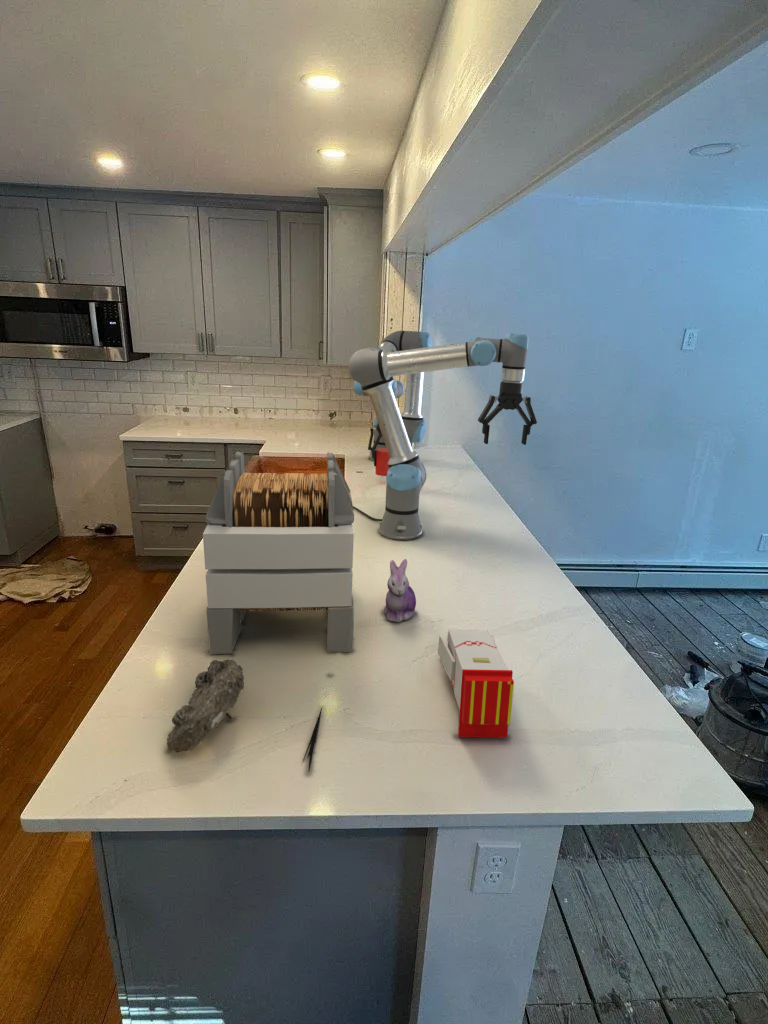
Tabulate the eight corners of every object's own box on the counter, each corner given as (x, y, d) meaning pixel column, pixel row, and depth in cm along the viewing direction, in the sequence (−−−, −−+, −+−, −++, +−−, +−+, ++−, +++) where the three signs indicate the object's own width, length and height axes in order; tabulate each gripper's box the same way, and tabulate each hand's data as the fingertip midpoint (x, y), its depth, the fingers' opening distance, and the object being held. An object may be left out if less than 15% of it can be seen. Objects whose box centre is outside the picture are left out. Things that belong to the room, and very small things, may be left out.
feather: (331, 679, 122) (336, 673, 122) (307, 777, 96) (313, 769, 95) (324, 675, 122) (329, 669, 121) (298, 772, 95) (304, 764, 95)
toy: (488, 613, 130) (523, 677, 101) (484, 667, 133) (517, 744, 104) (435, 612, 130) (455, 676, 101) (432, 666, 133) (451, 743, 103)
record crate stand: (229, 585, 158) (221, 442, 144) (346, 584, 161) (350, 444, 148) (206, 656, 126) (193, 481, 112) (353, 652, 130) (358, 483, 116)
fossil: (192, 660, 117) (244, 628, 112) (224, 691, 120) (276, 661, 115) (142, 746, 98) (202, 712, 93) (182, 779, 101) (242, 748, 96)
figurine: (392, 627, 141) (395, 572, 136) (374, 608, 149) (376, 556, 144) (425, 619, 145) (429, 566, 140) (405, 601, 154) (408, 550, 149)
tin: (372, 472, 257) (373, 448, 254) (388, 470, 260) (389, 447, 256) (379, 476, 251) (380, 452, 247) (394, 475, 254) (396, 451, 250)
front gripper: (543, 381, 195) (535, 441, 202) (472, 379, 192) (467, 440, 199) (551, 384, 188) (543, 446, 195) (478, 381, 185) (472, 445, 192)
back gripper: (362, 415, 243) (360, 467, 251) (410, 417, 243) (407, 469, 251) (363, 412, 250) (361, 462, 258) (409, 414, 250) (406, 464, 258)
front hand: (504, 443), depth 197 cm, fingers open, 13 cm apart
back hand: (384, 465), depth 254 cm, fingers closed on tin, 8 cm apart
